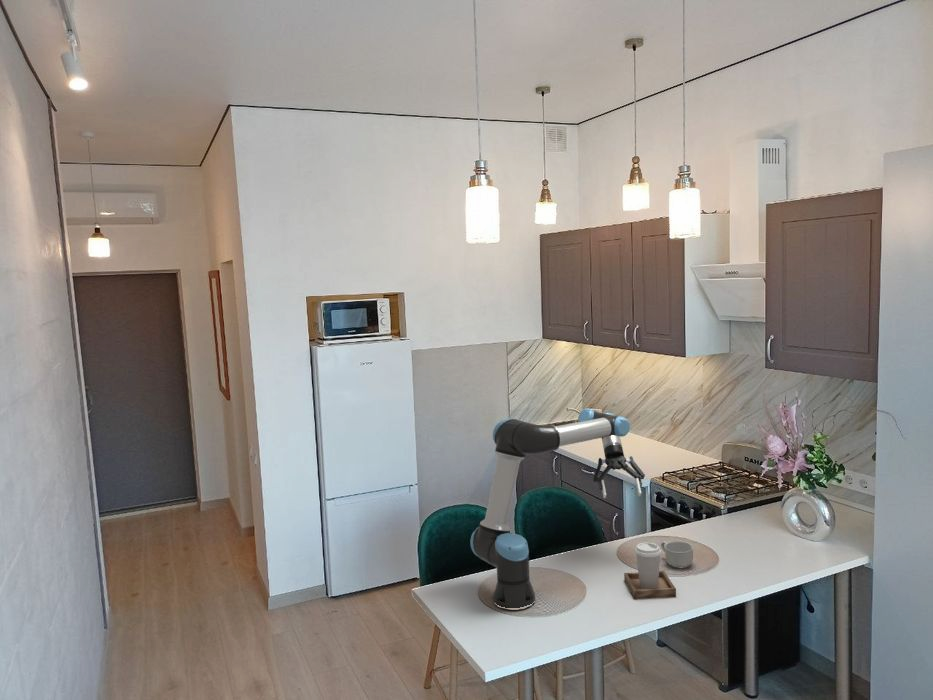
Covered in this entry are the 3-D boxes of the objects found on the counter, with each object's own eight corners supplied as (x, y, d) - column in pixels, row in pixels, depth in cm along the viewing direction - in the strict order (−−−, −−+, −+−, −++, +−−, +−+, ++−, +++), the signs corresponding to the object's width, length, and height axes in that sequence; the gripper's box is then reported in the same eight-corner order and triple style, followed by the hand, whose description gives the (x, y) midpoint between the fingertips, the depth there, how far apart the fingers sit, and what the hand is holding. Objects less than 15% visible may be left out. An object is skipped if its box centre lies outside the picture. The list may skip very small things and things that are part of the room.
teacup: (699, 567, 270) (699, 547, 269) (676, 573, 266) (676, 553, 265) (676, 554, 283) (675, 535, 282) (654, 560, 279) (653, 541, 278)
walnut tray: (634, 599, 247) (633, 591, 247) (624, 580, 262) (624, 573, 262) (676, 596, 247) (675, 588, 247) (664, 578, 262) (663, 570, 262)
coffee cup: (663, 592, 249) (662, 552, 247) (636, 591, 251) (634, 551, 249) (661, 580, 258) (660, 541, 257) (635, 579, 260) (633, 541, 259)
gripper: (642, 451, 285) (652, 498, 272) (581, 454, 285) (589, 501, 272) (645, 441, 279) (656, 489, 266) (583, 445, 279) (591, 492, 266)
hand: (622, 495), depth 269 cm, fingers open, 13 cm apart
